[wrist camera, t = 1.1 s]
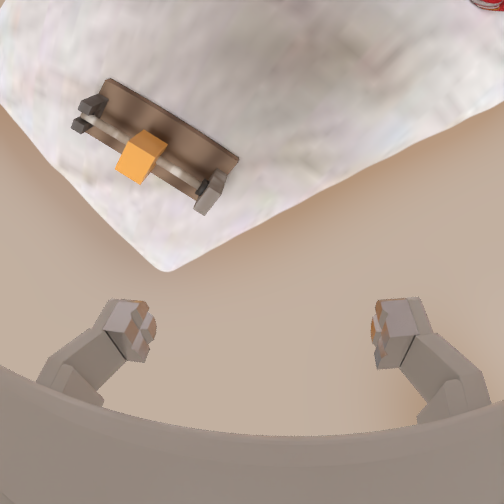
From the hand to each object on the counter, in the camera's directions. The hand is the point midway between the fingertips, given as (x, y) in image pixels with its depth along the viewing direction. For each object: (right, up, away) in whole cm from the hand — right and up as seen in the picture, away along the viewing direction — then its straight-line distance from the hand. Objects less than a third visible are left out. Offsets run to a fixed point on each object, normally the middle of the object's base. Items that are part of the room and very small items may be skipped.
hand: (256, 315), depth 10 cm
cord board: (-14, +18, +29) cm, 37 cm away
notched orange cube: (-14, +16, +26) cm, 33 cm away
